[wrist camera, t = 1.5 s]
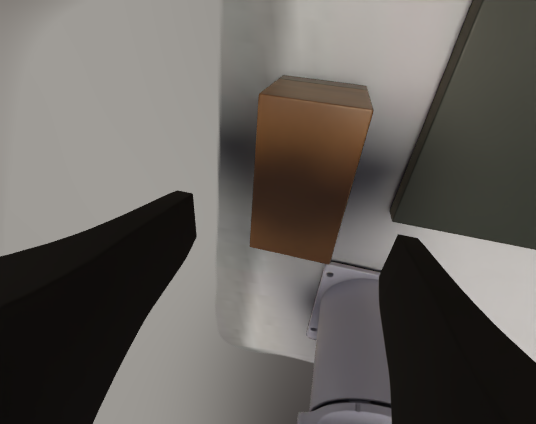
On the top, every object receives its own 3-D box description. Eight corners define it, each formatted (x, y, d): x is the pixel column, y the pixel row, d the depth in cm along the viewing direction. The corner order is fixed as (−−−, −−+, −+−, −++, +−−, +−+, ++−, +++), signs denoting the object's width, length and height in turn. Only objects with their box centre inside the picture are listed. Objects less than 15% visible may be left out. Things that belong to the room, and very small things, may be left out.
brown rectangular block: (333, 213, 19) (329, 265, 15) (270, 201, 20) (249, 247, 16) (367, 85, 14) (373, 109, 10) (282, 74, 15) (258, 93, 11)
